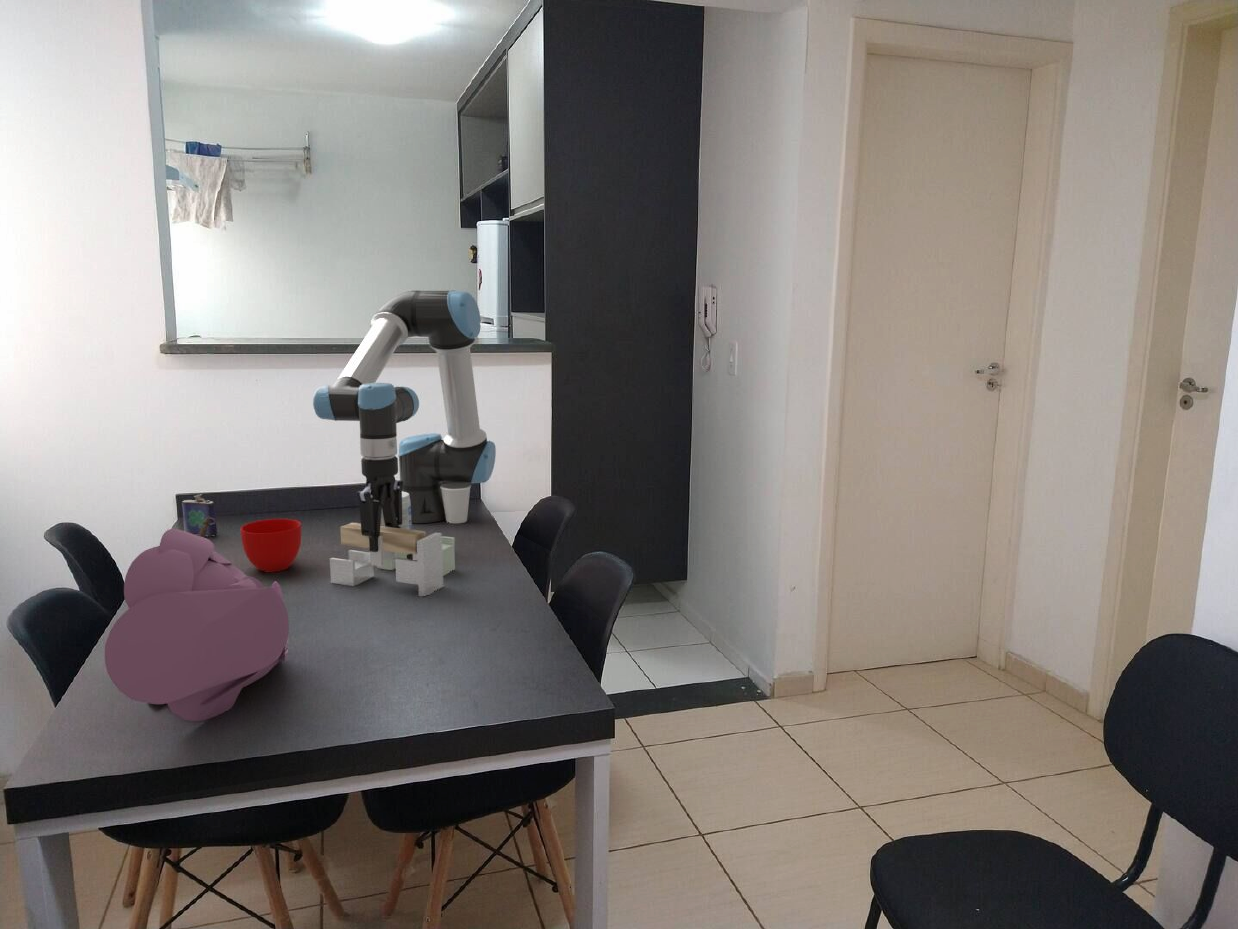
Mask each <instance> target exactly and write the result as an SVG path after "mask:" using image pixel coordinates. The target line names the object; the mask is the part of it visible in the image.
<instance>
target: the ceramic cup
mask: <svg viewBox="0 0 1238 929" xmlns="http://www.w3.org/2000/svg"><path fill="white" fill-rule="evenodd" d="M240 536H241V537H240V538H241V543H242V548H243V550H244V553H245V555H246V558H247V560H248V561H249V562H250V563H251V564H252V565H253V566H254V567H255V568H256V569H258V570H257V571H259V570H261V571H260V572H262V571H266V572H265V573H277V572H280V571H281V570H282V571H285V570H287V569H288V568H289V567H290V566H291V565H292V563H293V562H294V560H296V557H297V556H298V554H299V551H300V548H301V541H302V524H301V522H300V521H298V520H295V519H289V518H270V519H262V520H256V521H252V522H249V523H245V524H244V525H242V526H241V527H240ZM275 571H276V572H275Z"/></svg>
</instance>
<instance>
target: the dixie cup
mask: <svg viewBox="0 0 1238 929" xmlns="http://www.w3.org/2000/svg"><path fill="white" fill-rule="evenodd" d="M471 487H472V484H471V483H464V482H448V483H447V482H446V483H444V484H443V485H441V486H440V488H441V490H442V497H443V503H444V510H445V516H446V519H445V522H446V521H447V522H446V523H448V522H449V523H448V524H463V523H466V522H467V521H468V513H469V512H468V511H469V501H470V495H471V494H470V492H471Z"/></svg>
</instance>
